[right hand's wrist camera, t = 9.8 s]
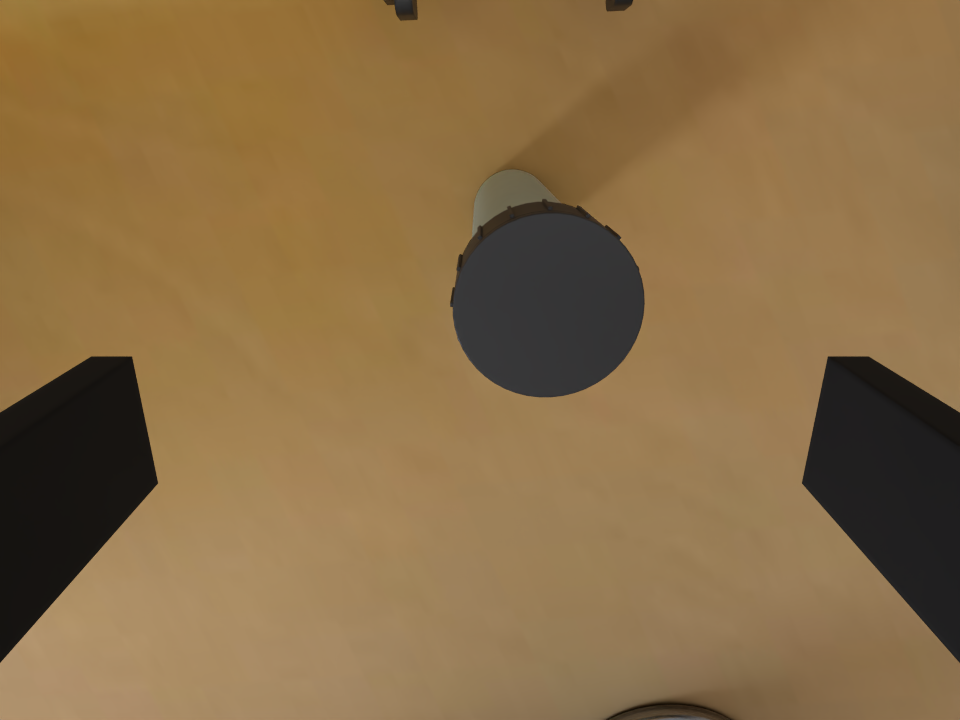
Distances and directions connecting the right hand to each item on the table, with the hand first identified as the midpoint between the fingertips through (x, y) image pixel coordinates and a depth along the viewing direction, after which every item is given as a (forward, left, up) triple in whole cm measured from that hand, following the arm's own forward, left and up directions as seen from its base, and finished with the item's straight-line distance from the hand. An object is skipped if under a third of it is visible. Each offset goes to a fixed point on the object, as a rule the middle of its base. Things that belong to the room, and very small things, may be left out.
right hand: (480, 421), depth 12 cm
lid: (-1, -2, -5) cm, 5 cm away
